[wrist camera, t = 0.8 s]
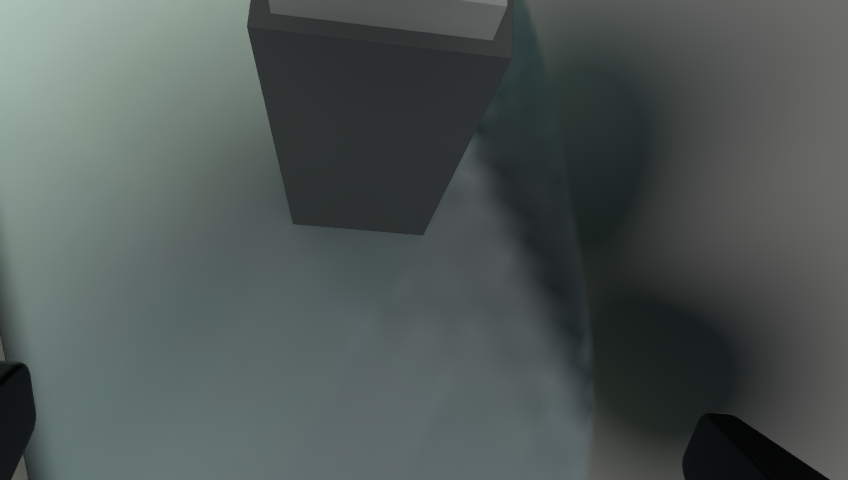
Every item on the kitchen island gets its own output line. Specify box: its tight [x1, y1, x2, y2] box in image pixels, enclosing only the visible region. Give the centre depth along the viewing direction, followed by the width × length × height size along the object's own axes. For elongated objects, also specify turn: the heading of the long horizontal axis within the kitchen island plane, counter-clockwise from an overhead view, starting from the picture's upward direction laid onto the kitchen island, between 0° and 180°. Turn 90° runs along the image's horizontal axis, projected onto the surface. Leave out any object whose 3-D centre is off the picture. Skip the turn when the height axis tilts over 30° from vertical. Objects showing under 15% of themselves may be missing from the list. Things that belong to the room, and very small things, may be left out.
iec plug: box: [247, 0, 513, 235], centre depth 17 cm, size 4×4×13 cm
